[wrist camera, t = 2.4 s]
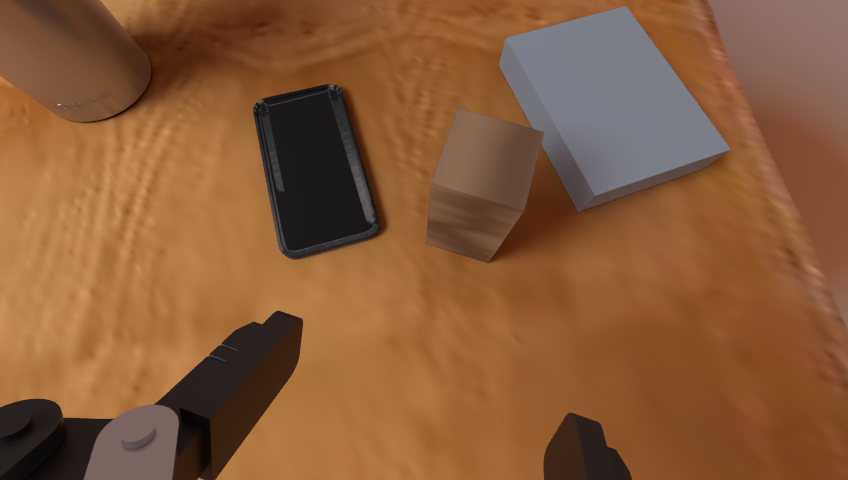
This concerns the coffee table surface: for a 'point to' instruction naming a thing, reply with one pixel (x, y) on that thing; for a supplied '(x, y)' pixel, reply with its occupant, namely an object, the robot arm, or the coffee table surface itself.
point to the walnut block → (480, 184)
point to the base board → (608, 107)
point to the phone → (314, 172)
